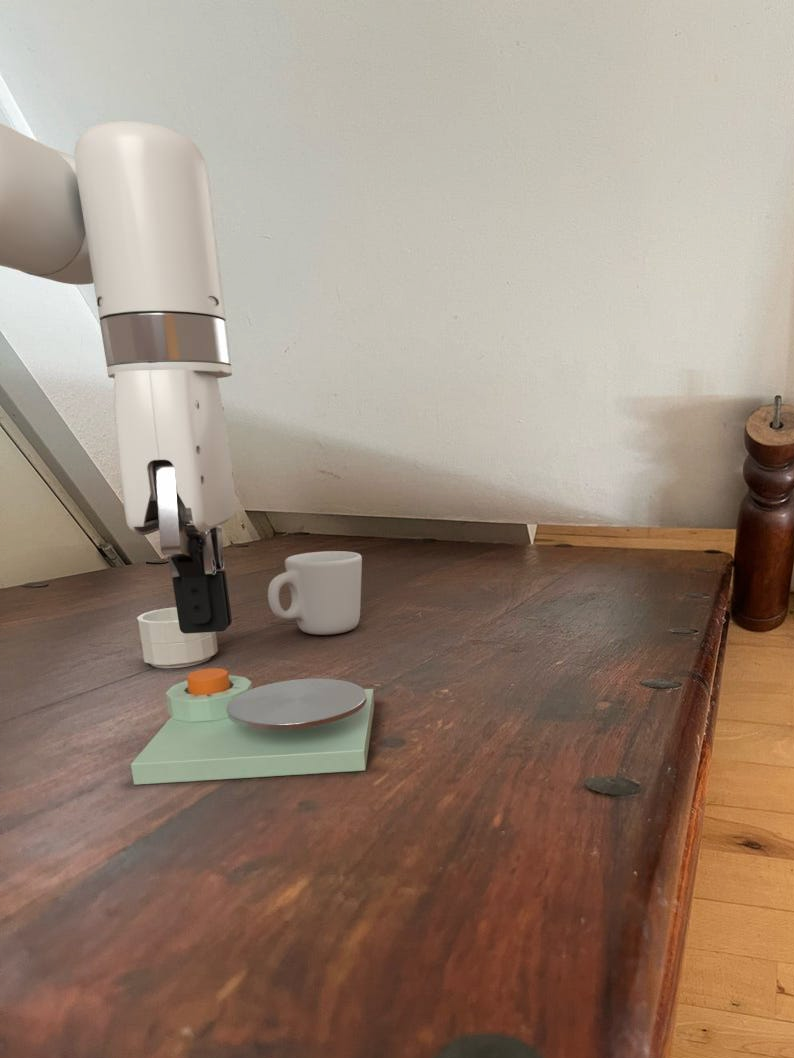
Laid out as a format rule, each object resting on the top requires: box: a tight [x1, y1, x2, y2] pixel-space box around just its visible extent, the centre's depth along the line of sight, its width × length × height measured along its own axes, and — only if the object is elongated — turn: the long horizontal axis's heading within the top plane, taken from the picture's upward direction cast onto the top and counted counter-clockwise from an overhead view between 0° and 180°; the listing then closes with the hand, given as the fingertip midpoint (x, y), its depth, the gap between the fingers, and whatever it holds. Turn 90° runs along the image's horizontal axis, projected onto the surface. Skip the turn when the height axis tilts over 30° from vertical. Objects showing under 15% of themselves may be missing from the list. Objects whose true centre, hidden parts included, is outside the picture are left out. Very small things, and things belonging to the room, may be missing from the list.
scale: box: [130, 674, 375, 786], centre depth 53 cm, size 14×12×3 cm
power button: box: [186, 667, 230, 695], centre depth 55 cm, size 3×3×1 cm
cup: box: [267, 550, 363, 636], centre depth 81 cm, size 11×8×8 cm
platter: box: [227, 678, 366, 730], centre depth 51 cm, size 9×9×1 cm
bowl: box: [136, 606, 219, 669], centre depth 73 cm, size 7×7×4 cm
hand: (206, 629), depth 54 cm, fingers closed
